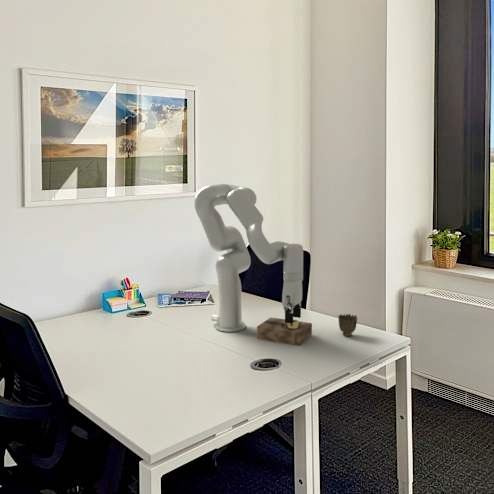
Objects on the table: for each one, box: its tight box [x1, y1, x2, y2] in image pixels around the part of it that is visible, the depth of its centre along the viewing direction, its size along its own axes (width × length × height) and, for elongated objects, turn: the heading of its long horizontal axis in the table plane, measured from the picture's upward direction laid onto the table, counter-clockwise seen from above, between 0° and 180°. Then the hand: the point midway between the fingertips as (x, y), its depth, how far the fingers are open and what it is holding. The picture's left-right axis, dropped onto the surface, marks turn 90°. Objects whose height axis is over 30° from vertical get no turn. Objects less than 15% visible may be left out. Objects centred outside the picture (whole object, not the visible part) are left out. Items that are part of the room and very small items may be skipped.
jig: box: [256, 317, 313, 346], centre depth 222 cm, size 18×13×6 cm
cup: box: [337, 313, 358, 338], centre depth 222 cm, size 8×7×8 cm
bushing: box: [287, 319, 299, 328], centre depth 220 cm, size 4×4×7 cm
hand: (292, 319), depth 219 cm, fingers open, 7 cm apart
